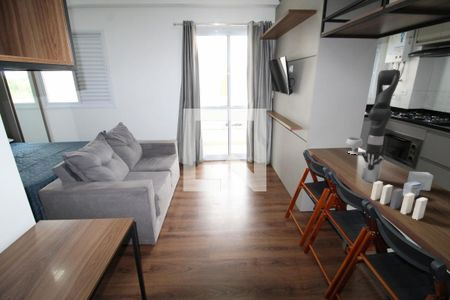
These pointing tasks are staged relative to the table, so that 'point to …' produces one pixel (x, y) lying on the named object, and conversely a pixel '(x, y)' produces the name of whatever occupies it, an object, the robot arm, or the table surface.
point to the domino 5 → (419, 208)
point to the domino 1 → (376, 190)
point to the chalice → (354, 144)
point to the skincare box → (421, 179)
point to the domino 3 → (396, 198)
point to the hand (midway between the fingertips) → (370, 169)
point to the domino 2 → (386, 194)
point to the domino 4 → (407, 203)
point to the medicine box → (412, 188)
